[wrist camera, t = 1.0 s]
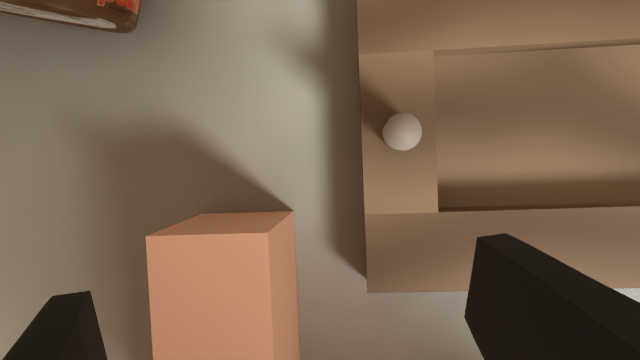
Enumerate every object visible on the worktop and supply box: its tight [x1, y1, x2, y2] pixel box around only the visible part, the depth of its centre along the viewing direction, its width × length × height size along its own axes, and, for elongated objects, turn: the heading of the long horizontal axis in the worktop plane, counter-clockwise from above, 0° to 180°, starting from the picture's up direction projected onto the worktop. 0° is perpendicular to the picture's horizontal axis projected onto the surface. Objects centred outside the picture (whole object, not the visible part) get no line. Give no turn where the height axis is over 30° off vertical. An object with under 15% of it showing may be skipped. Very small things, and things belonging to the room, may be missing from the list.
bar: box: [145, 211, 300, 360], centre depth 21 cm, size 10×4×6 cm, turn 3°
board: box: [356, 0, 640, 293], centre depth 20 cm, size 12×18×5 cm, turn 93°
